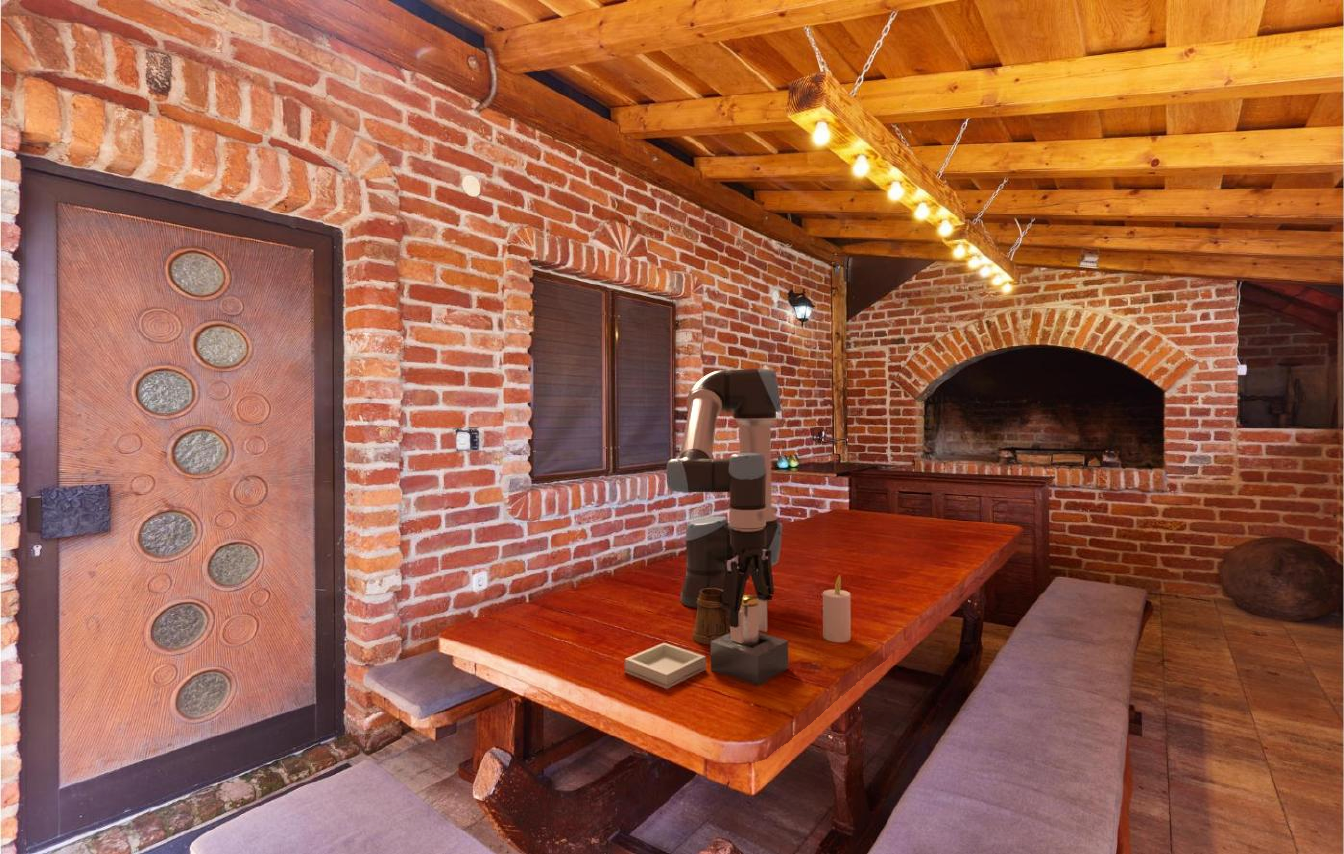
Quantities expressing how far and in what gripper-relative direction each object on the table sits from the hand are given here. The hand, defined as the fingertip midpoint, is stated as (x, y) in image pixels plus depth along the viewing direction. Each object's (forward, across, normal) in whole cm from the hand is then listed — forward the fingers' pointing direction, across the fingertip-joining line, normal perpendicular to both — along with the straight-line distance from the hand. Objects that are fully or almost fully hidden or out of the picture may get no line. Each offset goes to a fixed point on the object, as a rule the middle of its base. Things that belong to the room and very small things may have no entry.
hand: (749, 635), depth 135 cm
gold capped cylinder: (+7, 0, 0) cm, 7 cm away
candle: (+7, +28, -5) cm, 29 cm away
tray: (+7, -12, +13) cm, 19 cm away
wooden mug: (+7, +9, +15) cm, 19 cm away
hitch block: (+7, 0, 0) cm, 7 cm away
